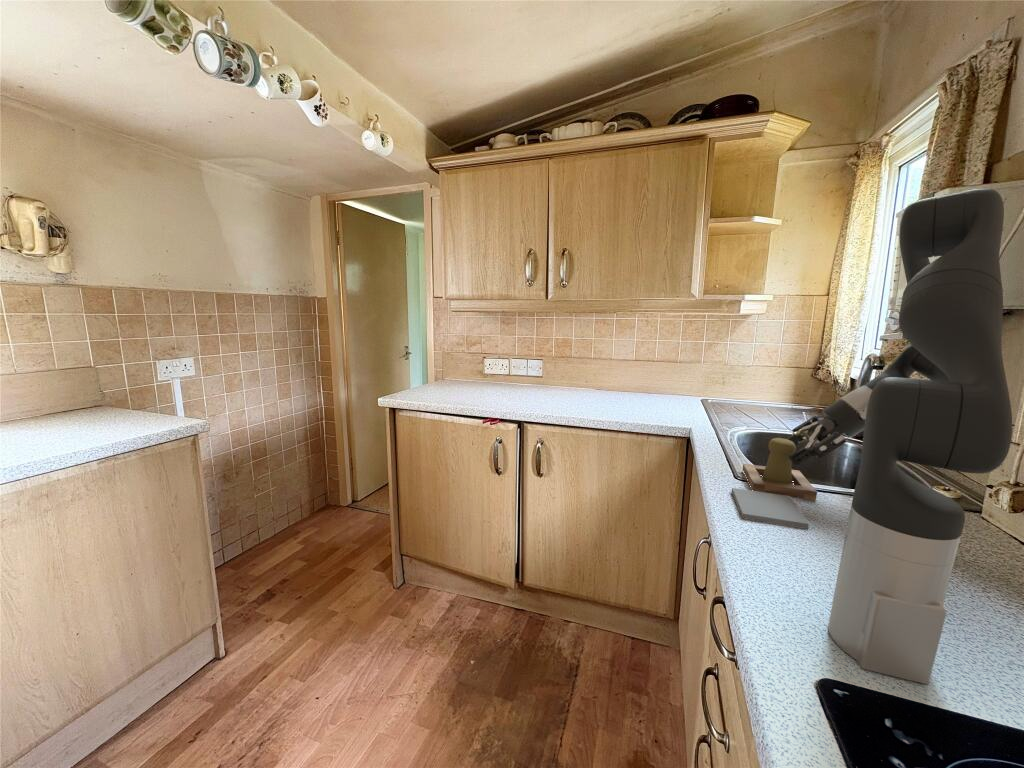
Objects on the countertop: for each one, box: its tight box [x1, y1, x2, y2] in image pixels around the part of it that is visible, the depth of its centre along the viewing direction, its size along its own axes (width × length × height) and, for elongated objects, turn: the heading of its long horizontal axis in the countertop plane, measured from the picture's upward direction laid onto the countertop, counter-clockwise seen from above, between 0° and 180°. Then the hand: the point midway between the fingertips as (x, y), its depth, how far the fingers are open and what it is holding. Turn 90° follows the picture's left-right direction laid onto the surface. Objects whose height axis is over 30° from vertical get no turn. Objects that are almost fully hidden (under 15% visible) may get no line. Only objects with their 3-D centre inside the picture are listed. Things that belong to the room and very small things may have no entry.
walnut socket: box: [742, 463, 818, 501], centre depth 96 cm, size 12×12×2 cm
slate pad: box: [731, 487, 810, 530], centre depth 84 cm, size 12×11×1 cm
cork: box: [761, 437, 797, 485], centre depth 95 cm, size 6×6×11 cm
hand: (786, 454), depth 94 cm, fingers open, 8 cm apart
